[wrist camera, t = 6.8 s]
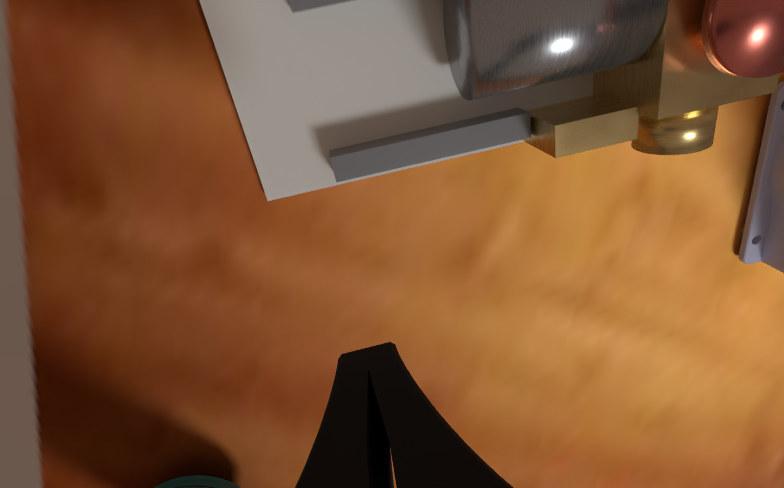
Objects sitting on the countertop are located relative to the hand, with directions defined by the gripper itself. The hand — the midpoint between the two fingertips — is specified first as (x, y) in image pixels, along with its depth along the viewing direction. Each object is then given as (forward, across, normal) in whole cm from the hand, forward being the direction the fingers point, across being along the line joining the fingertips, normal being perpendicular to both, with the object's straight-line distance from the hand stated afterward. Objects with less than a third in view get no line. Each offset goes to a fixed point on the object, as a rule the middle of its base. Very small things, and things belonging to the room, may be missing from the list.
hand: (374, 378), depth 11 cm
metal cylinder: (+9, -8, -6) cm, 14 cm away
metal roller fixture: (+10, -7, -6) cm, 14 cm away
